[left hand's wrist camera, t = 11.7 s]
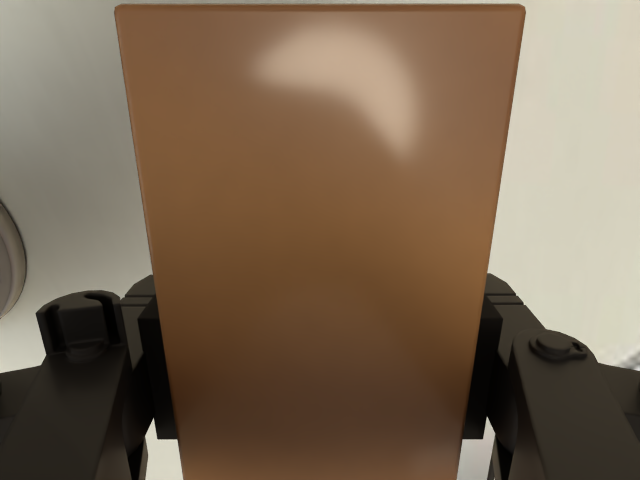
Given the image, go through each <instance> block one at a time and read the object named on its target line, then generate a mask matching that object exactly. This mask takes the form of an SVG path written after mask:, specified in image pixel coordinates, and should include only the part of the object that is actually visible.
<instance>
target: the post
mask: <svg viewBox="0 0 640 480" xmlns="http://www.w3.org/2000/svg"><path fill="white" fill-rule="evenodd" d="M114 14H115V21H116V28H117V35H118V41H119V48H120V55H121V61H122V68H123V75H124V82H125V88H126V95H127V102H128V109H129V115H130V122H131V129H132V136H133V142H134V149H135V156H136V163H137V169H138V176H139V183H140V190H141V196H142V203H143V210H144V217H145V223H146V230H147V237H148V244H149V250H150V257H151V264H152V271H153V277H154V284H155V291H156V298H157V304H158V311H159V318H160V325H161V331H162V338H163V345H164V351H165V358H166V365H167V372H168V378H169V385H170V392H171V399H172V405H173V412H174V419H175V426H176V432H177V439H178V446H179V453H180V459H181V466H182V473H183V480H456V479H457V473H458V466H459V459H460V452H461V446H462V439H463V432H464V426H465V419H466V412H467V405H468V399H469V392H470V385H471V378H472V372H473V365H474V358H475V351H476V345H477V338H478V331H479V324H480V318H481V311H482V304H483V298H484V291H485V284H486V277H487V271H488V264H489V257H490V250H491V244H492V237H493V230H494V223H495V217H496V210H497V203H498V196H499V190H500V183H501V176H502V169H503V163H504V156H505V149H506V143H507V136H508V129H509V122H510V116H511V109H512V102H513V95H514V89H515V82H516V75H517V68H518V62H519V55H520V48H521V41H522V35H523V28H524V21H525V14H526V11H525V7H524V6H522V5H520V4H120V5H118V6H116V7H115V11H114Z"/></svg>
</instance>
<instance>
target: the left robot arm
mask: <svg viewBox="0 0 640 480" xmlns="http://www.w3.org/2000/svg"><path fill="white" fill-rule="evenodd" d="M25 270H26V266H25V255H24V249H23V246H22V242H21V239H20V236H19V234H18V231H17V229H16V227H15V225H14V223H13V221H12V219H11V218H10V216H9V214H8V213H7V211H6V210H5V209H4V207H3V206H2V204H1V203H0V318H2V317H3V316H4V315H5V314H6V313H7V312H8V311H9V310H10V309H11V308H12V307H13V306H14V304H15V303H16V301H17V299H18V298H19V295H20V293H21V291H22V288H23V285H24V280H25ZM36 317H37V321H38V324H39V328H40V332H41V336H42V340H43V344H44V347H45V351H46V357H45V359H44V361H43V363H42V364H41V365H40V366H36V367H31V368H26V369H21V370H15V371H10V372H5V373H0V480H145V477H146V469H147V461H148V451H147V445H146V439H145V435H146V433H147V431H148V428H149V426H150V424H151V422H152V420H153V418H154V421H155V427H156V433H157V439H177V432H176V426H175V419H174V412H173V405H172V399H171V392H170V385H169V378H168V372H167V365H166V358H165V351H164V345H163V338H162V331H161V325H160V318H159V311H158V304H157V298H156V291H155V284H154V277H153V275H149V276H147V277H146V278H144V279H142V280H141V281H139V282H137V283H135V284H134V285H133V286H132V287H131V289H130V290H129V291H128V292H127V293H126V294H125V297H123V298H122V299H121V300H120V297H119V296H117V295H116V294H114V293H113V292H108V291H103V290H94V291H83V292H77V293H72V294H69V295H66V296H63V297H60V298H57V299H55V300H53V301H51V302H49V303H47V304H45V305H44V306H43V307H42V308H40V309H39V310H38V311H37V312H36ZM487 417H488V419H489V421H490V423H491V425H492V427H493V429H494V432H495V439H494V445H493V450H492V456H491V461H490V467H489V472H488V478H487V480H494V477H495V480H640V371H636V370H631V369H626V368H620V367H615V366H609V365H605V364H601V363H598V362H597V360H596V358H595V356H594V354H593V353H592V352H591V351H590V349H589V348H588V347H587V346H586V345H584V344H583V343H581V342H580V341H578V340H577V339H575V338H573V337H571V336H568V335H566V334H563V333H561V332H557V331H552V330H547V329H545V327H544V326H543V325H542V324H541V323H540V322H539V320H538V319H537V318H536V317H535V316H534V314H533V313H532V312H531V311H530V310H529V309H528V307H527V306H526V305H524V303H523V301H522V300H521V299H520V298H519V297H518V296H516V293H515V292H514V291H513V290H512V288H511V287H510V286H509V285H508V284H507V283H506V282H504V281H503V280H501V279H499V278H498V277H496V276H494V275H492V274H491V273H487V277H486V284H485V291H484V298H483V304H482V311H481V318H480V324H479V331H478V338H477V345H476V351H475V358H474V365H473V372H472V378H471V385H470V392H469V399H468V405H467V412H466V419H465V426H464V432H463V439H483V435H484V430H485V424H486V418H487Z"/></svg>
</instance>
